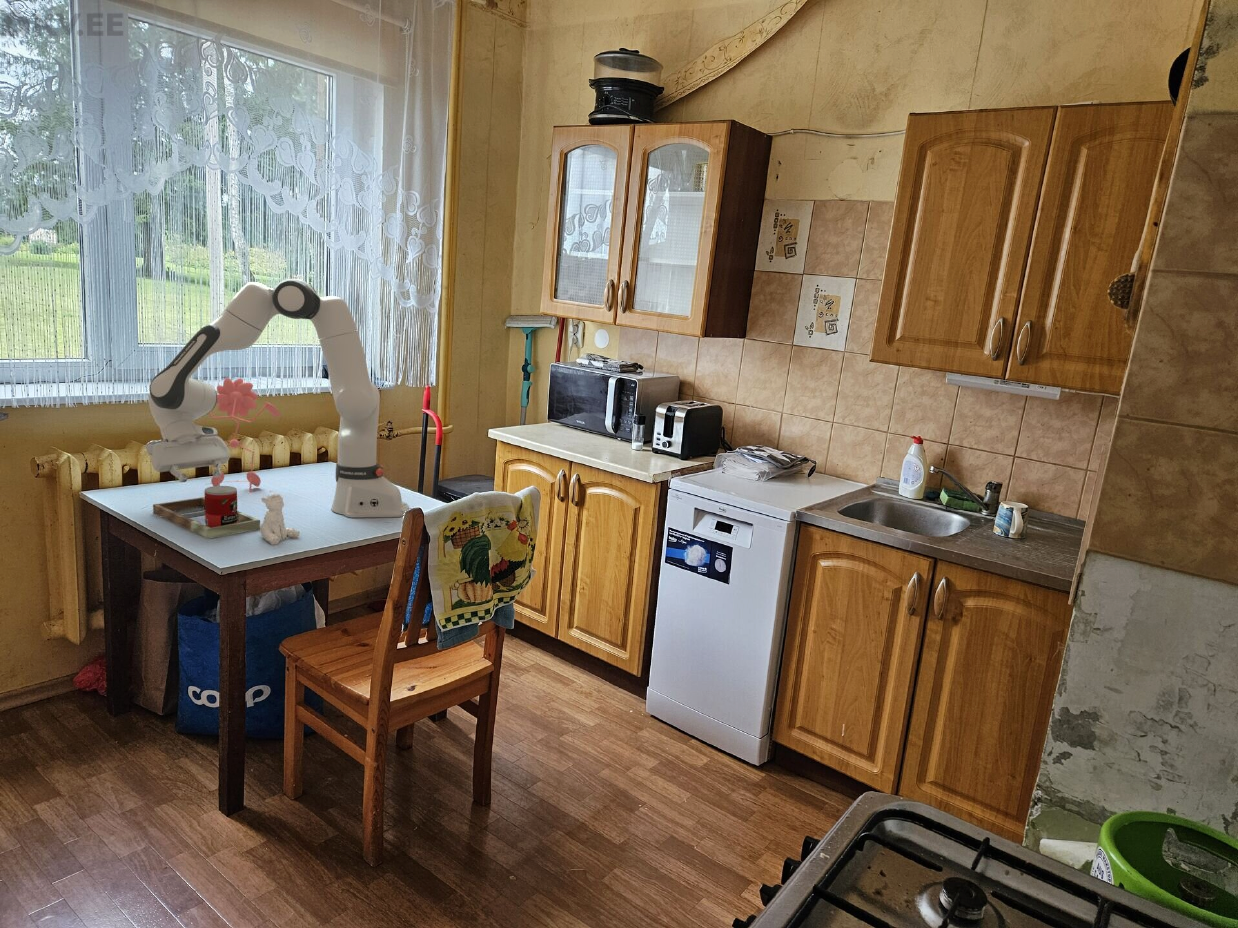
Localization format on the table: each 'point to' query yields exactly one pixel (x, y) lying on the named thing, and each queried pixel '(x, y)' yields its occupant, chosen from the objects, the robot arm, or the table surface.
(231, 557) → the table surface
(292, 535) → the sitting furry creature
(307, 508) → the table surface
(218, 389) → the flower headed marionette
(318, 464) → the table surface
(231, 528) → the shallow wooden tray
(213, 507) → the canned food
